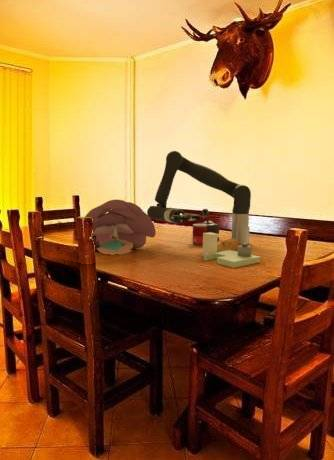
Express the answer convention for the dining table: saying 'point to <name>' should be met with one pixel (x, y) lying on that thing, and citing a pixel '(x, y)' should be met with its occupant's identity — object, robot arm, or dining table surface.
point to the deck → (234, 257)
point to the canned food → (199, 233)
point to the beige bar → (209, 243)
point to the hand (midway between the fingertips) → (194, 218)
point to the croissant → (228, 245)
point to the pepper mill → (210, 223)
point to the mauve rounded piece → (120, 227)
